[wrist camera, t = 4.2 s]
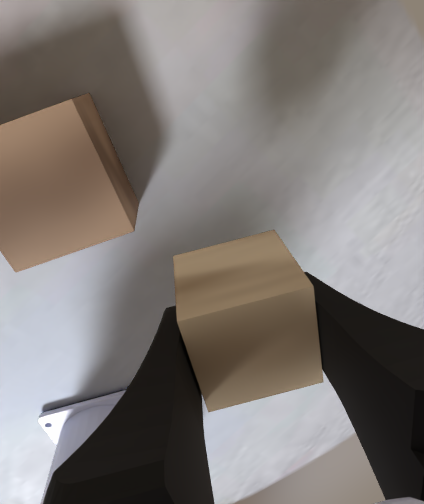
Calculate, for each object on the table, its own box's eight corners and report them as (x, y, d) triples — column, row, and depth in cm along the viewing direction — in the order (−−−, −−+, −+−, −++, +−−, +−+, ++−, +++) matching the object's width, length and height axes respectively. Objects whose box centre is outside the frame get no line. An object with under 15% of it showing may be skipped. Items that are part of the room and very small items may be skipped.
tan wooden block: (139, 202, 20) (134, 231, 17) (41, 237, 20) (15, 272, 17) (90, 92, 17) (71, 99, 14) (-24, 134, 17) (-71, 150, 14)
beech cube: (286, 310, 15) (323, 381, 12) (198, 333, 15) (208, 412, 12) (274, 229, 14) (313, 286, 10) (173, 255, 14) (177, 321, 10)
